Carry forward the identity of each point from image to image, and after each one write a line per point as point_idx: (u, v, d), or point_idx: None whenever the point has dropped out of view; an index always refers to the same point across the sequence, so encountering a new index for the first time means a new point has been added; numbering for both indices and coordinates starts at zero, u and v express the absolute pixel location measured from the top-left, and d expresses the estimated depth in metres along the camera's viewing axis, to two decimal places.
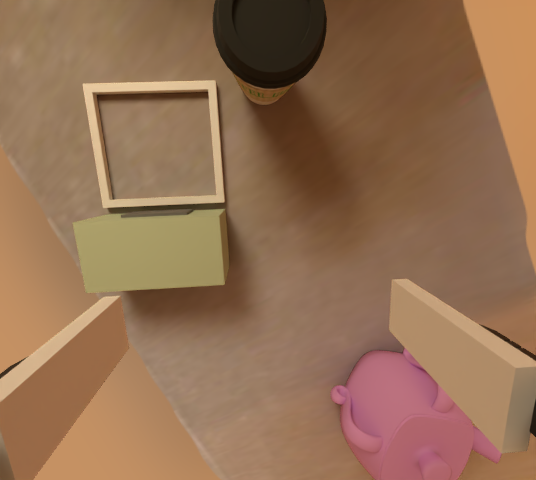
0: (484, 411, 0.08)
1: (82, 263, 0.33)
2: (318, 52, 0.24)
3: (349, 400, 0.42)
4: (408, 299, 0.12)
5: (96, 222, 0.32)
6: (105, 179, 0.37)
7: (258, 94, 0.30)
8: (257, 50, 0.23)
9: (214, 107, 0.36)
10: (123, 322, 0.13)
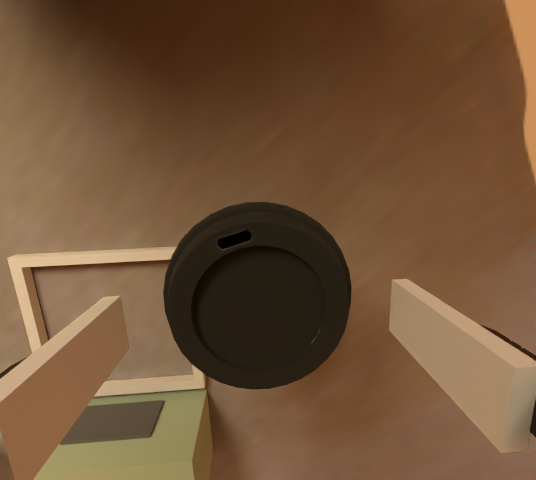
0: (484, 411, 0.08)
1: None
2: None
3: None
4: (408, 299, 0.12)
5: None
6: None
7: None
8: (236, 357, 0.14)
9: None
10: (123, 322, 0.13)
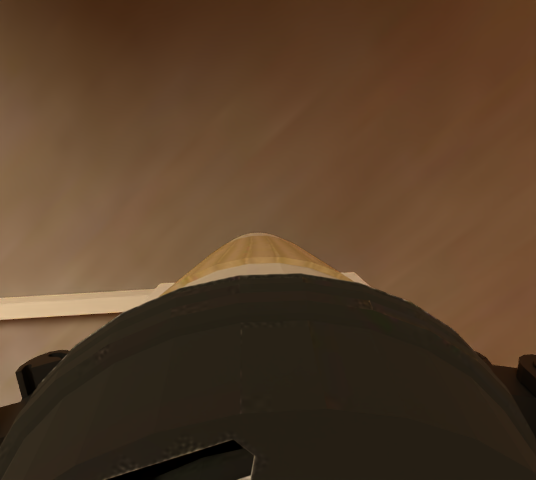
0: None
1: None
2: None
3: None
4: None
5: None
6: None
7: None
8: None
9: None
10: None
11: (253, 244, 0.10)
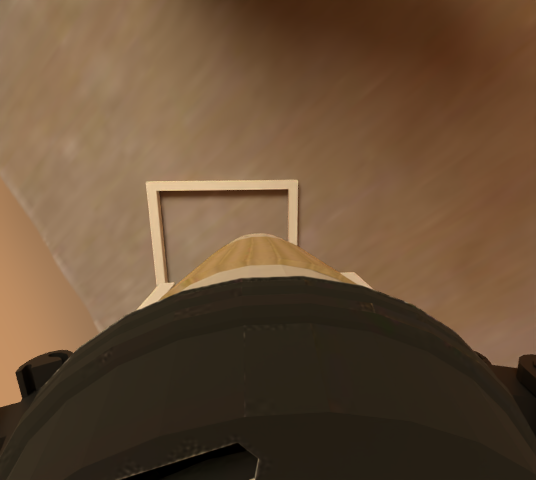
0: None
1: None
2: None
3: None
4: None
5: None
6: None
7: None
8: None
9: (294, 208, 0.32)
10: None
11: (254, 245, 0.10)
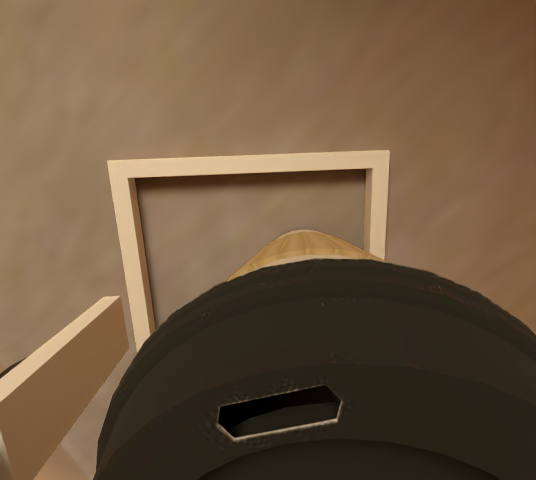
0: None
1: None
2: None
3: None
4: None
5: None
6: None
7: None
8: None
9: (381, 203, 0.17)
10: (123, 322, 0.13)
11: (307, 238, 0.11)
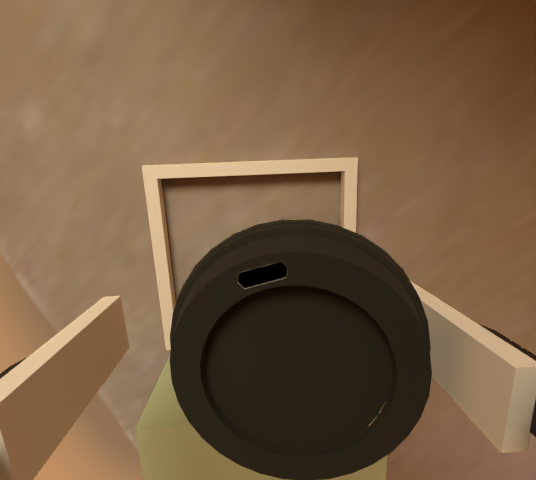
0: (484, 411, 0.08)
1: None
2: None
3: None
4: None
5: (177, 427, 0.18)
6: (171, 309, 0.23)
7: None
8: (260, 432, 0.10)
9: (352, 198, 0.22)
10: (123, 322, 0.13)
11: None
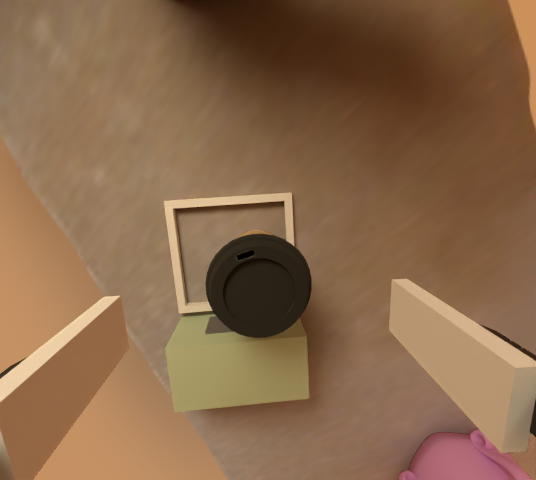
0: (484, 411, 0.08)
1: (172, 385, 0.33)
2: (304, 308, 0.26)
3: None
4: (408, 299, 0.12)
5: (188, 347, 0.32)
6: (182, 287, 0.38)
7: None
8: (247, 319, 0.25)
9: (290, 217, 0.37)
10: (123, 322, 0.13)
11: (254, 232, 0.31)
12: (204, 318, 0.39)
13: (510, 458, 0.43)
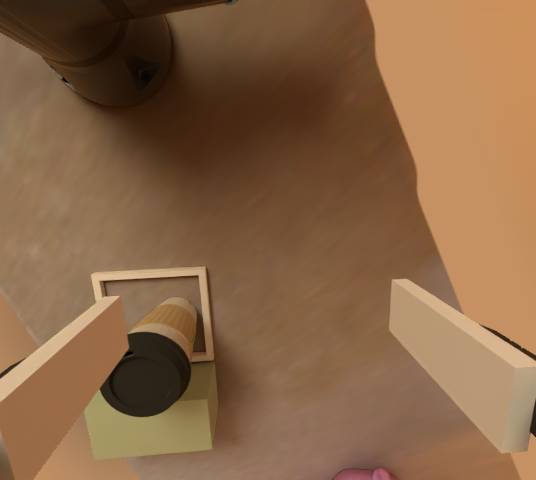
0: (484, 411, 0.08)
1: (91, 438, 0.39)
2: (184, 391, 0.31)
3: None
4: (408, 299, 0.12)
5: (103, 407, 0.38)
6: None
7: None
8: (131, 402, 0.30)
9: (204, 288, 0.42)
10: (124, 322, 0.13)
11: (158, 313, 0.36)
12: None
13: None
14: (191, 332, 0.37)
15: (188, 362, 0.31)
